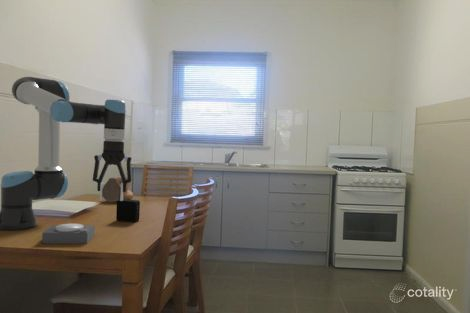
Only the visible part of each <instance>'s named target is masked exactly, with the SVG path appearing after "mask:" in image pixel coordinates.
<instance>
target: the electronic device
mask: <svg viewBox="0 0 470 313" xmlns="http://www.w3.org/2000/svg"><path fill="white" fill-rule="evenodd" d="M140 206H141V201H140V200H139V199H137V200H136V199H130V200H128V199H123V200H122V201H120V200H118V201H116V213H115V215H116V216H115V217H116V221H118V222H125V223H126V222H127V223H136V222H139V220H140Z"/></svg>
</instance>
